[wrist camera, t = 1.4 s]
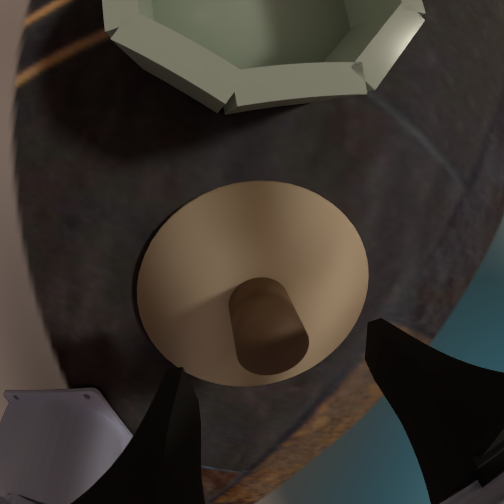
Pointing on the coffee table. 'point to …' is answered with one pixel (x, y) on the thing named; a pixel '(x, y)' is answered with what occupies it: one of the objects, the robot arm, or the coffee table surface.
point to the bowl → (264, 46)
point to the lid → (252, 283)
